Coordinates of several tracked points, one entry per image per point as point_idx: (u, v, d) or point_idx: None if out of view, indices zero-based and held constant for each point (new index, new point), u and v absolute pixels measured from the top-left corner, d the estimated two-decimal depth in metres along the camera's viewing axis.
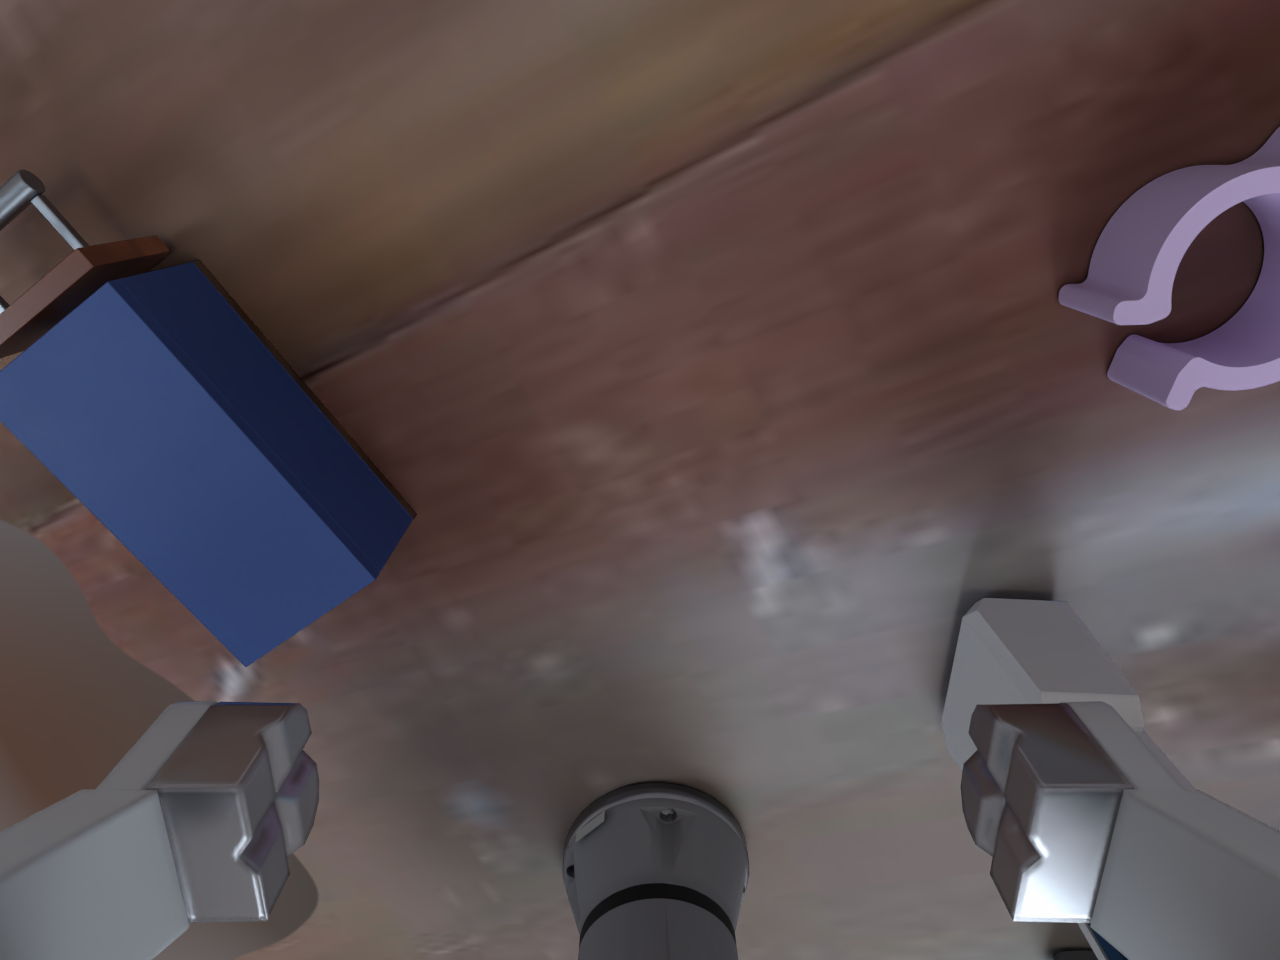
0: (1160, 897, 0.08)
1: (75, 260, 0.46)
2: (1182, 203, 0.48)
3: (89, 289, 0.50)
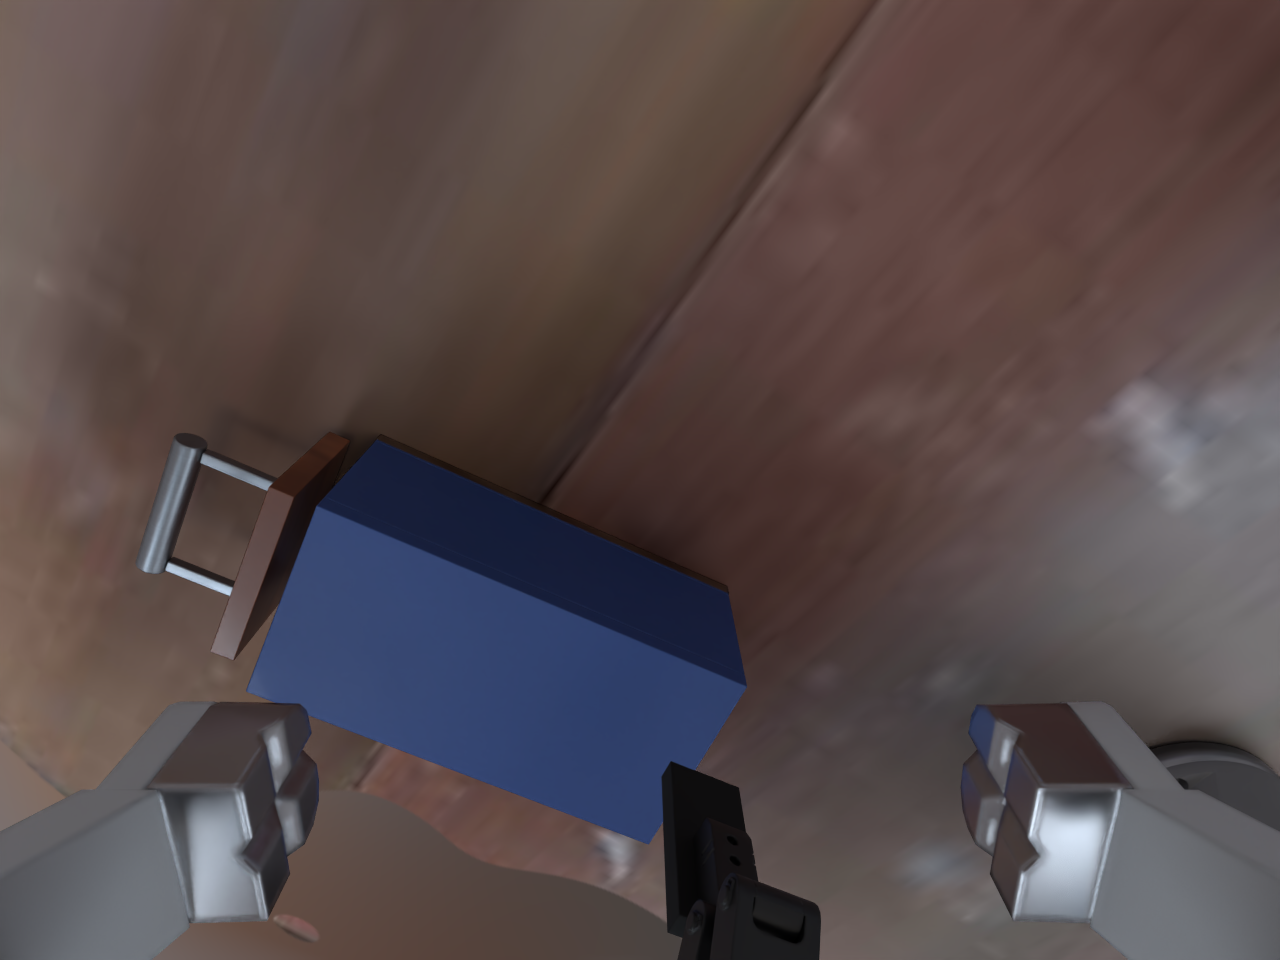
0: (1160, 897, 0.08)
1: (274, 500, 0.39)
2: None
3: (298, 523, 0.43)
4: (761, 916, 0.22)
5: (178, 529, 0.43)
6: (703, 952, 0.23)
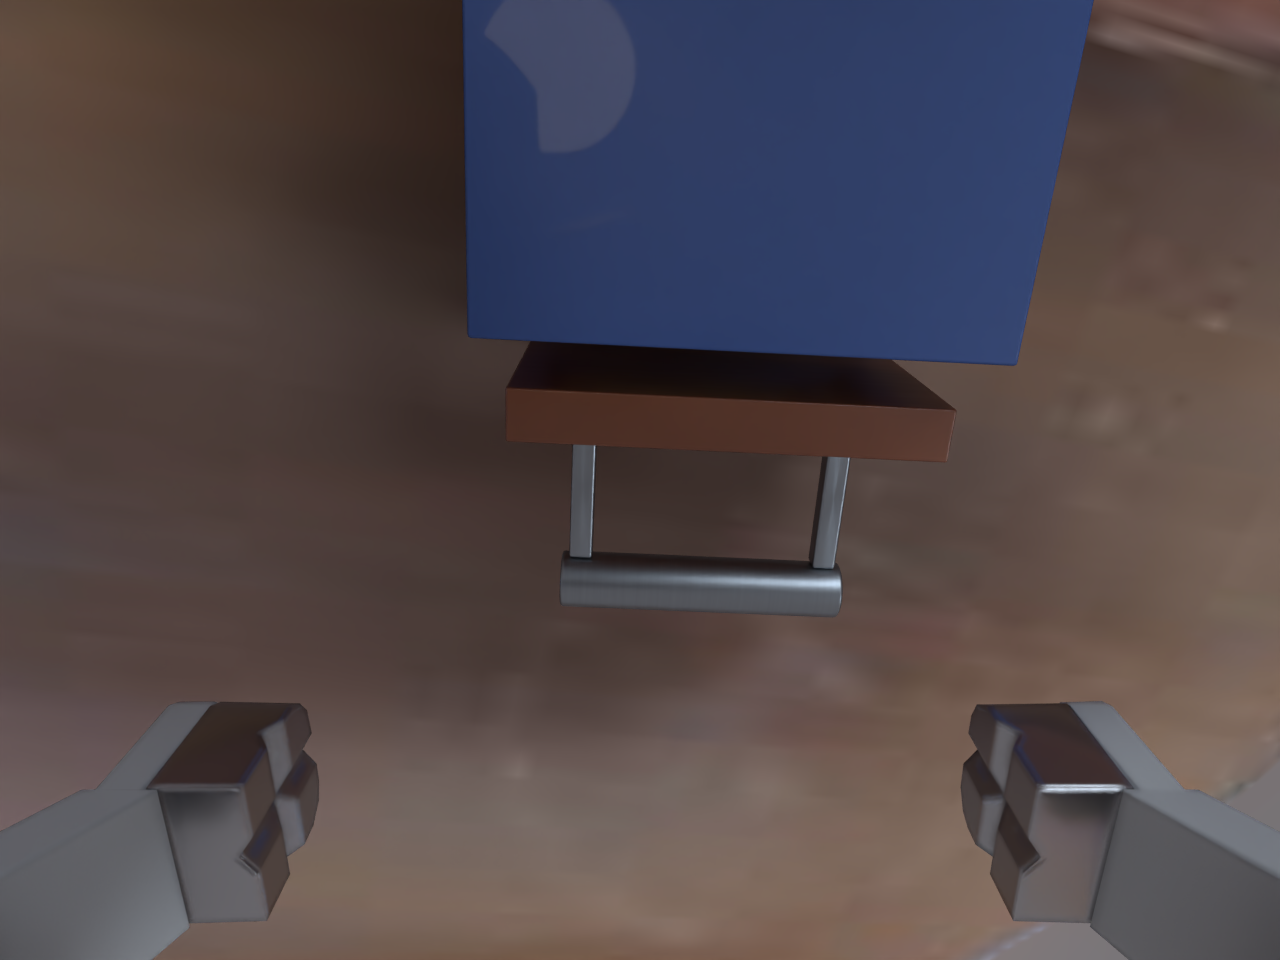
0: (1160, 897, 0.08)
1: (532, 424, 0.18)
2: None
3: (639, 362, 0.21)
4: None
5: (742, 563, 0.23)
6: None
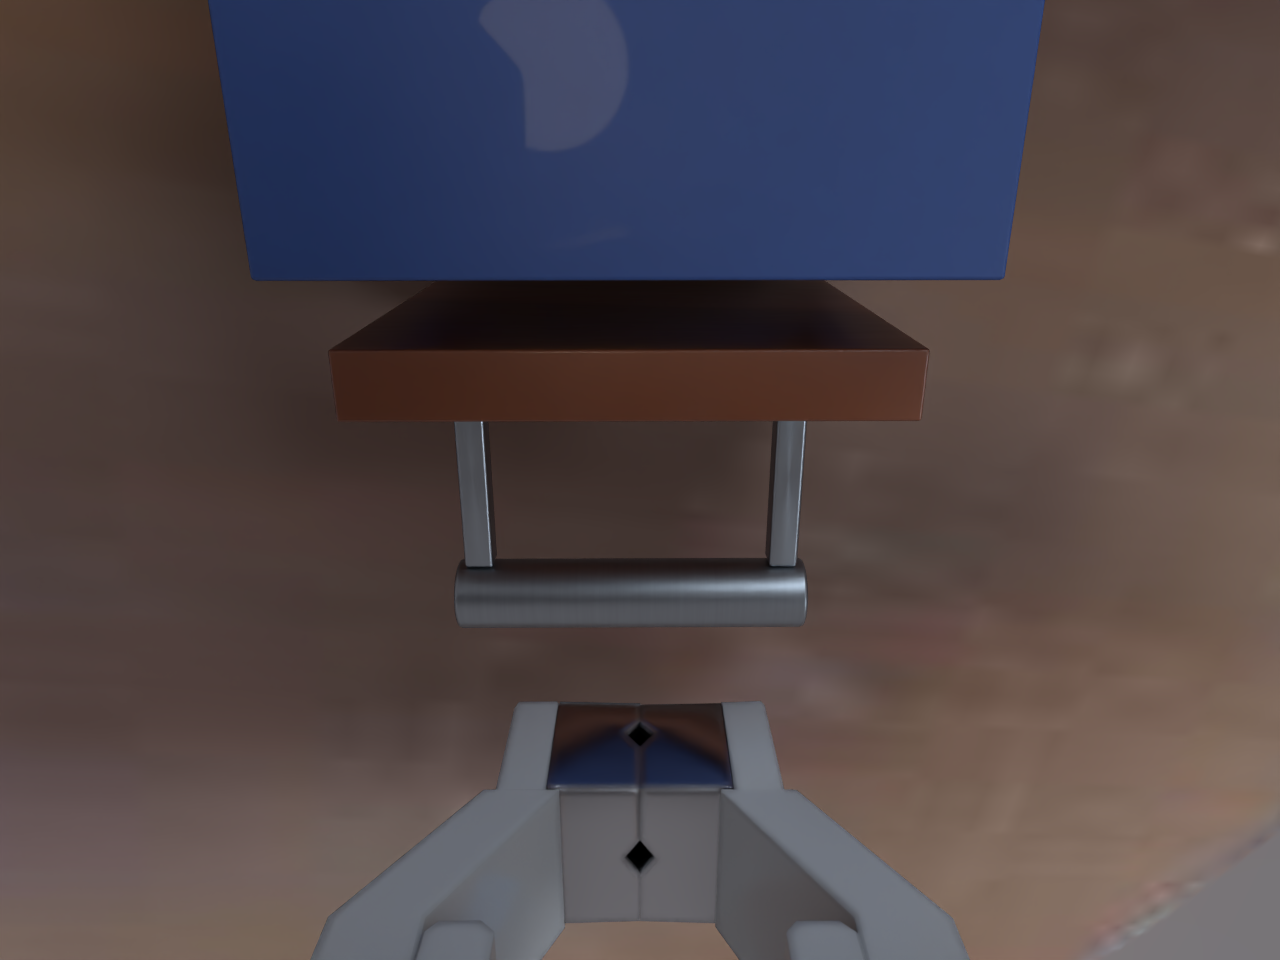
0: (750, 897, 0.08)
1: (367, 396, 0.14)
2: None
3: (527, 317, 0.16)
4: None
5: (681, 564, 0.18)
6: None
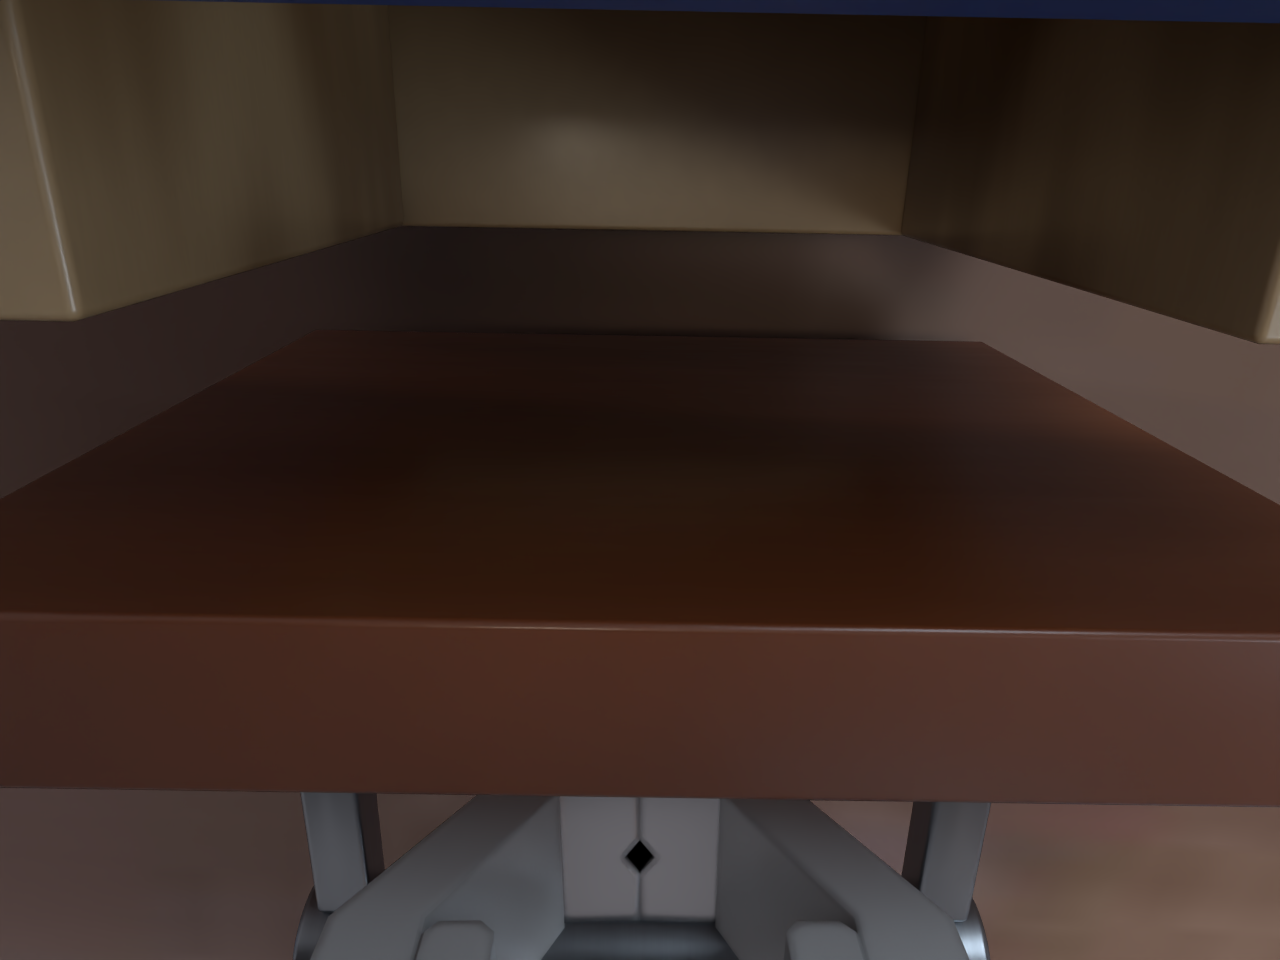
0: (750, 897, 0.08)
1: None
2: None
3: (428, 449, 0.07)
4: None
5: None
6: None
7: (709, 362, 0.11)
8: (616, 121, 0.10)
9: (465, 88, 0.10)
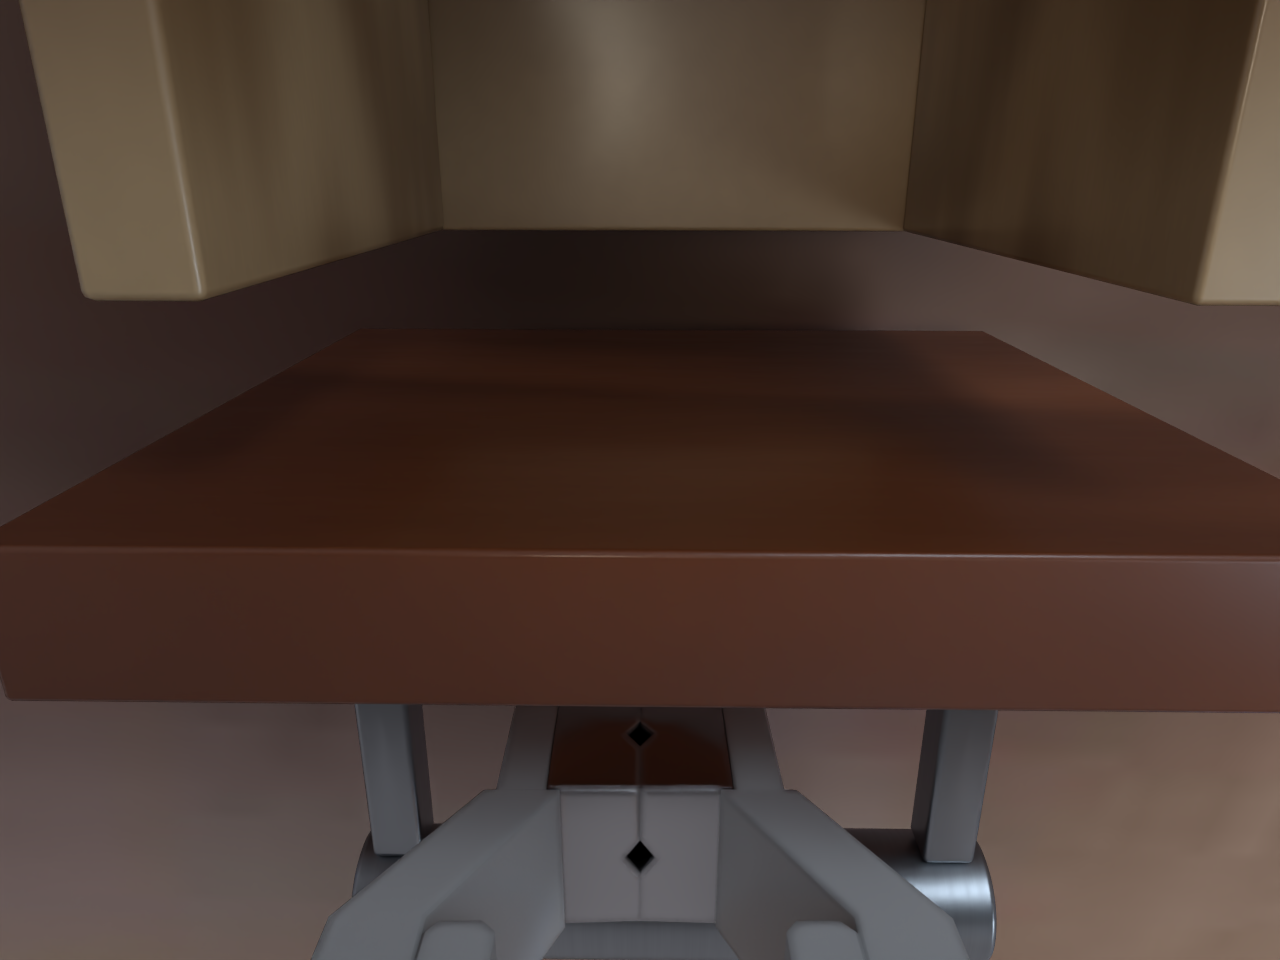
0: (750, 897, 0.08)
1: (71, 650, 0.06)
2: None
3: (477, 424, 0.08)
4: None
5: None
6: None
7: (726, 351, 0.12)
8: (638, 131, 0.11)
9: (500, 103, 0.11)
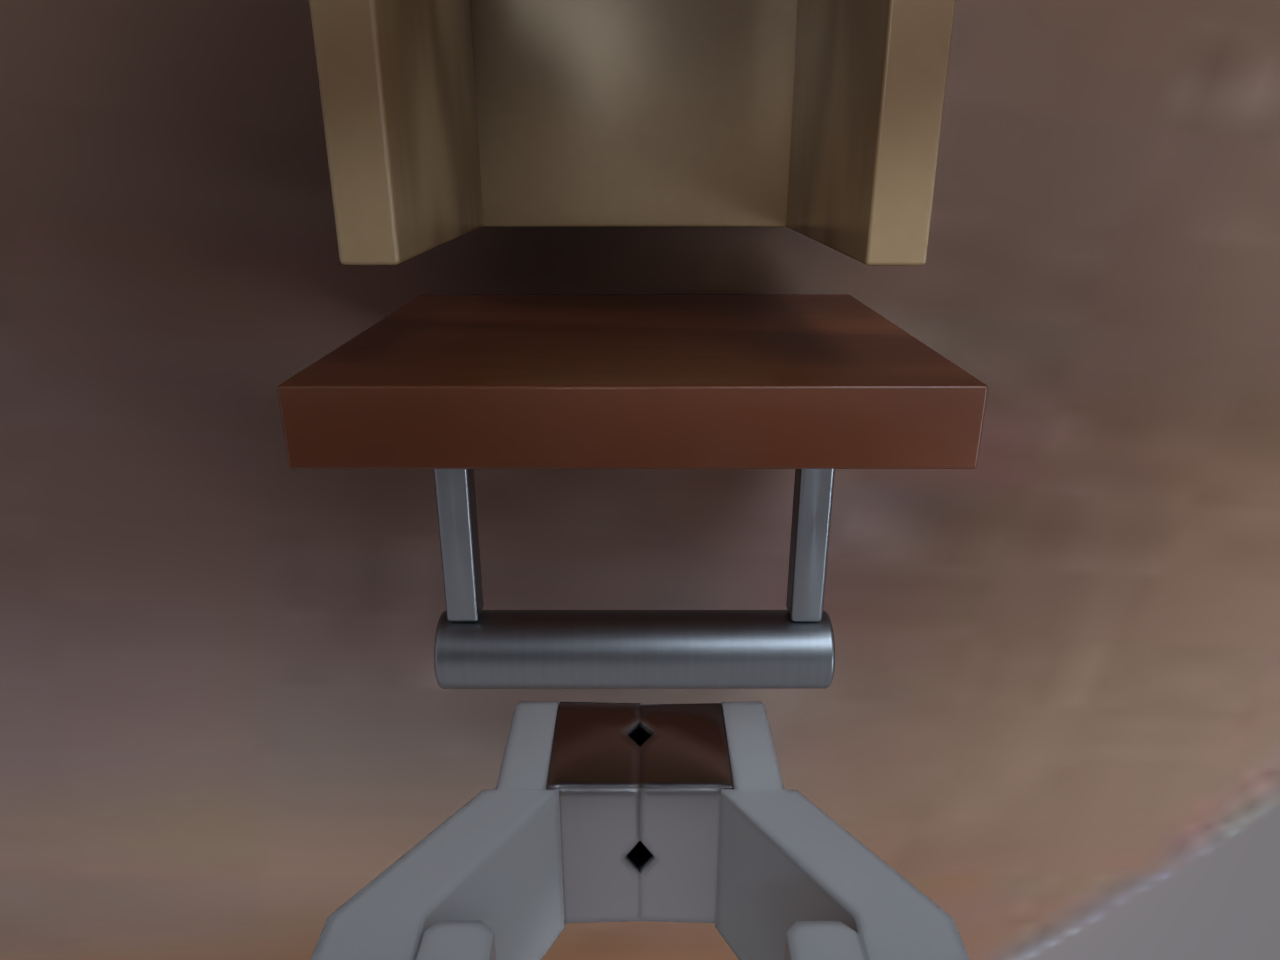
0: (750, 897, 0.08)
1: (324, 440, 0.12)
2: None
3: (516, 341, 0.14)
4: None
5: (691, 618, 0.16)
6: None
7: (671, 306, 0.18)
8: (610, 162, 0.17)
9: (520, 144, 0.17)
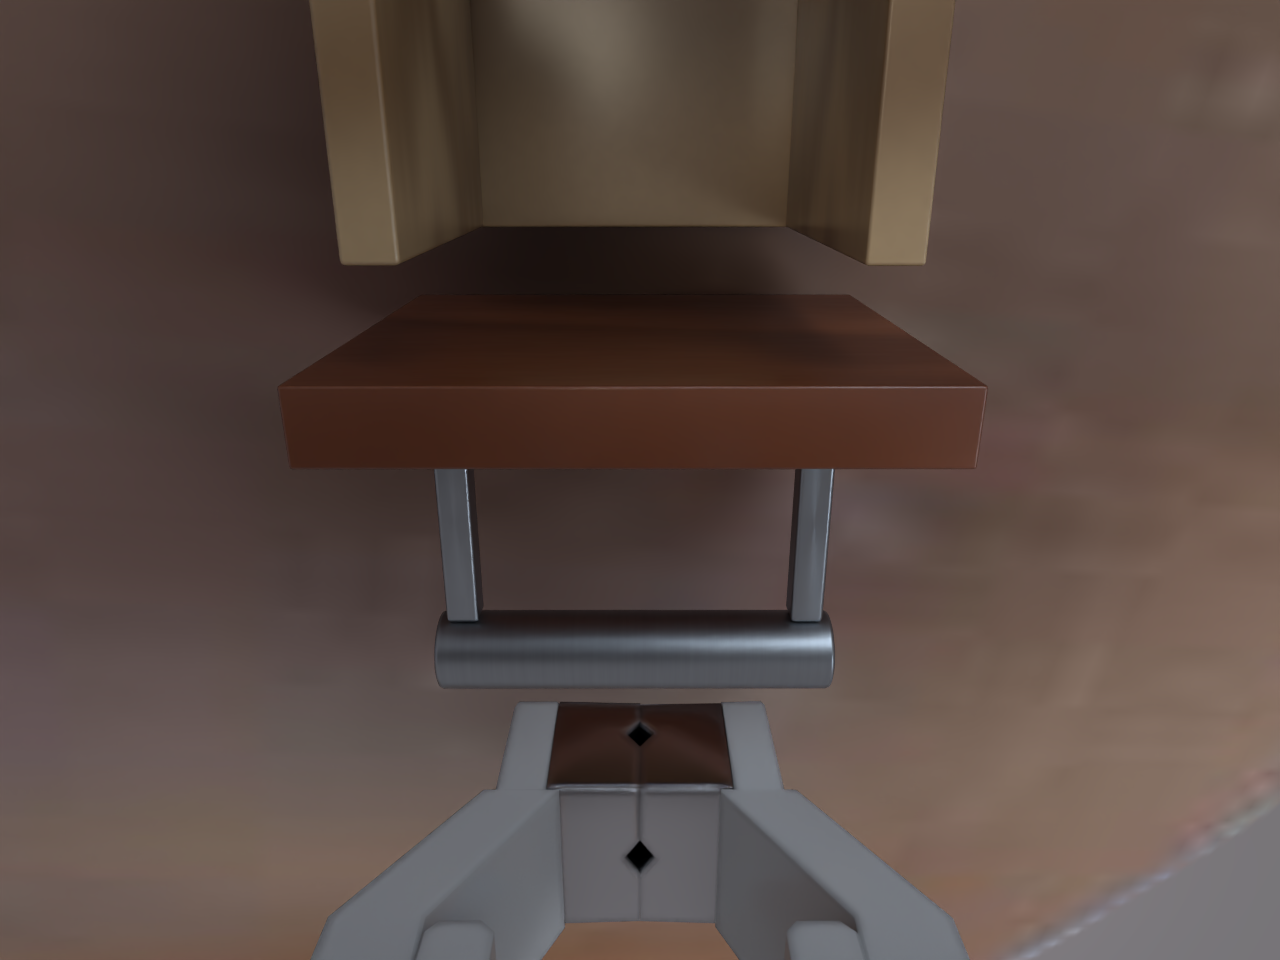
0: (750, 897, 0.08)
1: (325, 440, 0.12)
2: None
3: (516, 342, 0.14)
4: None
5: (691, 618, 0.16)
6: None
7: (670, 306, 0.18)
8: (611, 162, 0.17)
9: (520, 144, 0.17)
